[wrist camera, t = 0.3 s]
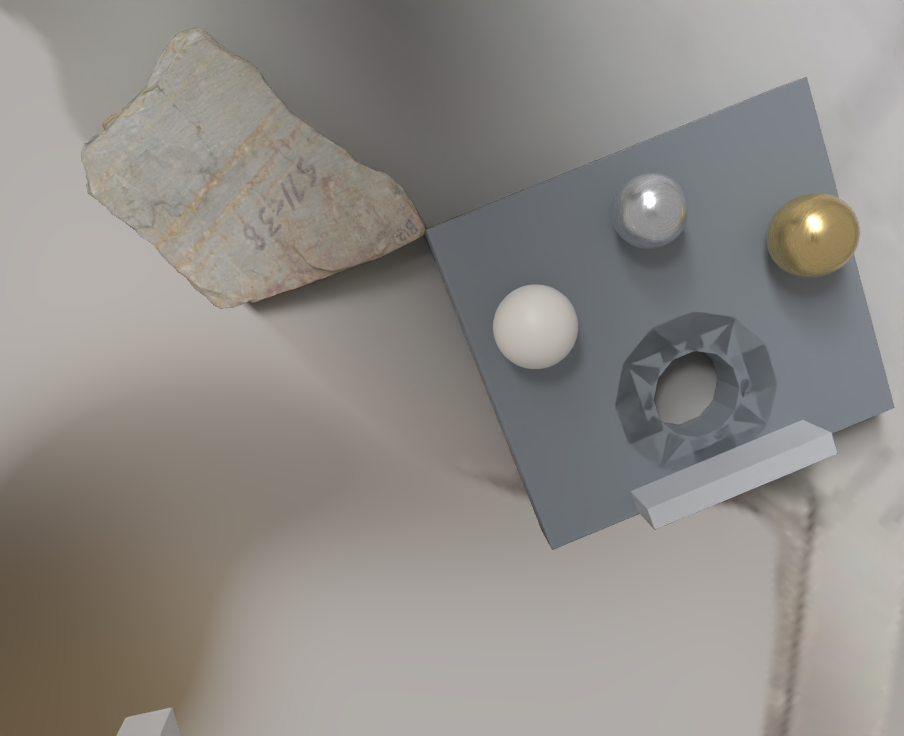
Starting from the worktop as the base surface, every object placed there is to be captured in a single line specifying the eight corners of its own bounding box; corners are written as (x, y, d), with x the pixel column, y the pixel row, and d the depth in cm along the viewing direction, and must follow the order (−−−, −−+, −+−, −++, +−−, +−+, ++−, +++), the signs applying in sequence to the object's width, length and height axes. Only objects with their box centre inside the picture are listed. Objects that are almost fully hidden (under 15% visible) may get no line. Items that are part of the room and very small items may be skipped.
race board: (423, 230, 37) (429, 230, 32) (778, 86, 38) (838, 65, 33) (542, 530, 41) (564, 571, 36) (864, 397, 42) (928, 419, 37)
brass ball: (741, 212, 36) (785, 210, 32) (814, 183, 36) (867, 177, 32) (763, 287, 37) (808, 293, 33) (835, 257, 37) (888, 261, 33)
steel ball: (592, 191, 35) (615, 187, 32) (658, 164, 35) (688, 157, 32) (615, 258, 36) (640, 261, 33) (680, 232, 36) (711, 232, 33)
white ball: (475, 299, 36) (487, 308, 32) (550, 269, 36) (571, 274, 32) (503, 373, 37) (518, 390, 33) (576, 343, 37) (600, 356, 33)
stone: (432, 220, 38) (436, 219, 35) (300, 370, 39) (295, 380, 36) (202, 8, 35) (189, -10, 32) (63, 175, 35) (40, 171, 33)
